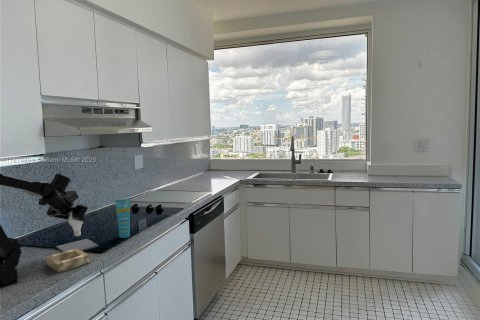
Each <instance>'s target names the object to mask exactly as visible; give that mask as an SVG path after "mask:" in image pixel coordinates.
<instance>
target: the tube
mask: <svg viewBox="0 0 480 320" xmlns="http://www.w3.org/2000/svg"><path fill="white" fill-rule="evenodd" d="M114 204H115V210H116V216H117V224H118V225H117V226H118V233H119V234H118V235H119V236H118V237H119V238H122V239H125V238H129V237H130V233H131V231H130V228H131V226H130V223H131V221H130V218H131V217H130V215H131V214H130V213H131V210H130V209H131V207H130V206H131V198H123V199H114Z"/></svg>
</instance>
